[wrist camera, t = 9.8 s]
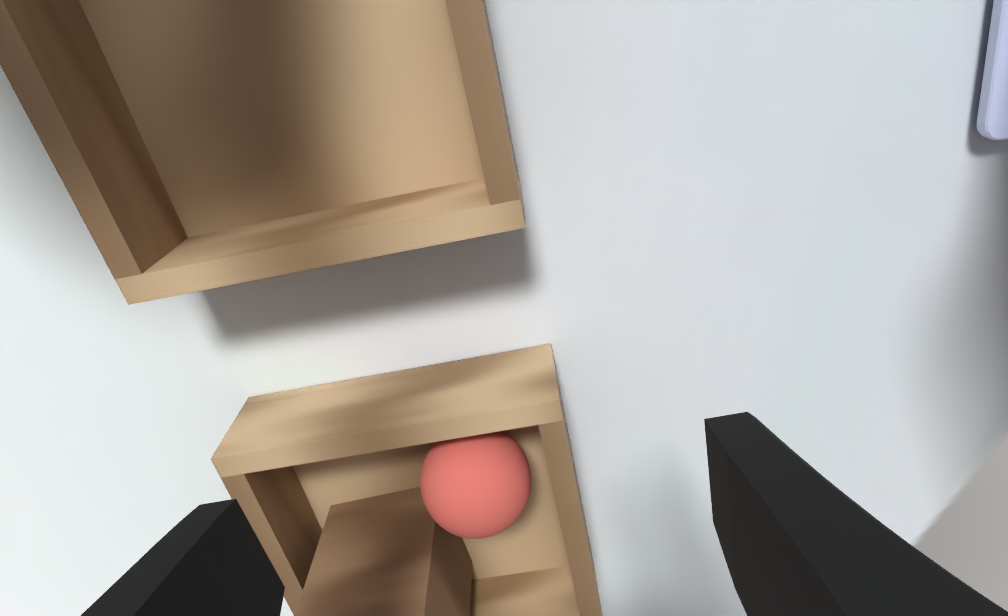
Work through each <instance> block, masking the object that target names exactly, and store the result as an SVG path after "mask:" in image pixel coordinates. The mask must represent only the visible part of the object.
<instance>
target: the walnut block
mask: <svg viewBox="0 0 1008 616" xmlns="http://www.w3.org/2000/svg"><path fill="white" fill-rule="evenodd" d="M471 578H472V560H471V558H470V555H469V553H468V550H467V548H466V545H465V543H464V540H463V538H462V537H459V536H456V535H454V534H452V533H450V532H448V531H446V530H445V529H443V528H442V527H441V526H440V525H438V524H437V523H436V521H435V520H434V519H433V518H432V517H431V515H430V514H429V512H428V510H427V509H426V507H425V504H424V502H423V498H422V495H421V488H420V487H416V488H411V489H406V490H401V491H397V492H392V493H387V494H383V495H378V496H373V497H368V498H364V499H359V500H354V501H349V502H345V503H340V504H335V505H331V506H330V509H329V512H328V515H327V518H326V521H325V524H324V527H323V530H322V533H321V536H320V539H319V543H318V546H317V549H316V552H315V555H314V558H313V561H312V564H311V567H310V570H309V573H308V576H307V579H306V582H305V586H304V589H303V592H302V595H301V598H300V601H299V604H298V607H297V610H296V613H295V616H470V600H471Z"/></svg>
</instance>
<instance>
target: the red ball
mask: <svg viewBox="0 0 1008 616" xmlns="http://www.w3.org/2000/svg"><path fill="white" fill-rule="evenodd" d="M420 488H421V495H422V498H423V502H424V504H425V507H426V509H427V510H428V512H429V514H430V515H431V517H432V518H433V519H434V520H435V521H436V523H437V524H438V525H440V526H441V527H442V528H443V529H445V530H446V531H448V532H450V533H452V534H454V535H456V536H459V537H462V538H468V539H482V538H488V537H491V536H494V535H496V534H499V533H501V532H502V531H504V530H506V529H507V528H508V527H510V526H511V525H512V524H513V523H514V522H515V521H516V520H517V519H518V518H519V516H520V515H521V513H522V512H523V510H524V508H525V506H526V504H527V502H528V499H529V495H530V490H531V472H530V466H529V463H528V460H527V457H526V455H525V453H524V451H523V450H522V448H521V447H520V445H519V444H518V443H517V442H516V441H515V440H514V439H513V438H512V437H511V436H510V435H509V434H507V433H506V432H504V431H498V432H492V433H486V434H480V435H474V436H468V437H462V438H456V439H450V440H444V441H438V442H435V443H434V444H433V446H432V447H431V449H430V450H429V452H428V453H427V455H426V458H425V460H424V462H423V466H422V470H421V477H420Z"/></svg>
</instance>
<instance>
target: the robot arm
mask: <svg viewBox="0 0 1008 616" xmlns="http://www.w3.org/2000/svg"><path fill="white" fill-rule="evenodd" d="M977 130H978V132H979V133H980V135H982V136H984V137H986V138H989V139H992V140H1005V139H1008V0H994V3H993V10H992V17H991V24H990V31H989V38H988V45H987V53H986V60H985V67H984V74H983V81H982V88H981V95H980V103H979V110H978V117H977ZM704 420H705V432H706V444H707V455H708V467H709V479H710V490H711V502H712V514H713V522H714V526H715V529H716V532H717V535H718V538H719V541H720V544H721V547H722V550H723V553H724V556H725V559H726V562H727V565H728V568H729V571H730V574H731V577H732V580H733V583H734V586H735V589H736V591H737V594H738V596H739V598H740V600H741V603H742V605H743V607H744V609H745V612H746V614H747V616H1008V612H1007V611H1006V610H1004V609H1003V608H1001V607H999V606H998V605H996V604H995V603H993V602H992V601H990V600H989V599H987V598H986V597H984V596H983V595H981V594H980V593H978V592H977V591H975V590H974V589H973V588H971V587H970V586H968V585H967V584H965V583H964V582H962V581H961V580H959V579H958V578H957V577H955V576H954V575H952V574H951V573H949V572H948V571H946V570H945V569H943V568H942V567H941V566H940V565H938V564H937V563H935V562H934V561H933V560H931V559H930V558H928V557H927V556H925V555H924V554H923V553H921V552H920V551H919V550H917V549H916V548H914V547H913V546H912V545H910V544H909V543H907V542H906V541H905V540H904V539H902V538H901V537H900V536H898V535H897V534H896V533H894V532H893V531H892V530H890V529H889V528H888V527H886V526H885V525H884V524H882V523H881V522H880V521H878V520H877V519H876V518H875V517H873V516H872V515H871V514H869V513H868V512H867V511H866V510H864V509H863V508H862V507H861V506H859V505H858V504H857V503H856V502H854V501H853V500H852V499H850V498H849V497H848V496H847V495H845V494H844V493H843V492H842V491H840V490H839V489H838V488H837V487H835V486H834V485H833V484H832V483H831V482H829V481H828V480H827V479H826V478H824V477H823V476H822V475H821V474H820V473H818V472H817V471H816V470H815V469H814V468H813V467H811V466H810V465H809V464H808V463H807V462H805V461H804V460H803V459H802V458H801V457H800V456H798V455H797V454H796V453H795V452H794V451H793V450H792V449H790V448H789V447H788V446H787V445H786V444H785V443H784V442H782V441H781V440H780V439H779V438H778V437H777V436H776V435H775V434H773V433H772V432H771V431H770V430H769V429H768V428H767V427H766V426H765V425H763V424H762V423H761V422H760V421H759V420H758V419H757V418H756V417H754V416H753V415H751V414H750V413H748V412H744V413H738V414H732V415H726V416H720V417H714V418H708V419H704ZM284 590H285V586H284V585H283V583H282V581H281V579H280V577H279V576H278V574H277V572H276V570H275V568H274V566H273V565H272V563H271V561H270V559H269V557H268V556H267V554H266V552H265V550H264V548H263V546H262V545H261V543H260V541H259V539H258V537H257V536H256V534H255V532H254V530H253V528H252V527H251V525H250V523H249V521H248V519H247V517H246V516H245V514H244V512H243V510H242V508H241V507H240V505H239V503H238V501H237V499H231V500H226V501H220V502H214V503H208V504H202V505H199V506H198V507H197V508H196V509H194V510H193V511H192V512H191V513H190V514H188V515H187V516H186V517H185V518H184V519H183V520H181V521H180V522H179V523H178V524H177V525H176V526H175V527H174V528H173V529H172V530H170V531H169V532H168V533H167V534H166V535H165V536H164V537H163V538H162V539H161V540H160V541H159V542H158V543H156V544H155V545H154V546H153V547H152V548H151V549H150V550H149V551H148V552H147V553H146V554H145V555H144V556H143V557H142V558H141V559H140V560H139V561H138V562H136V563H135V564H134V565H133V566H132V567H131V568H130V569H129V570H128V571H127V572H126V573H125V574H124V575H123V576H122V577H121V578H120V579H119V580H118V581H117V582H116V583H114V584H113V585H112V586H111V587H110V588H109V589H108V590H107V591H106V592H105V593H104V594H103V595H102V596H101V597H100V598H99V599H98V600H97V601H96V602H95V603H93V604H92V605H91V606H90V607H89V608H88V609H87V610H86V611H85V612H84V613H83V614H82V615H81V616H280V612H281V606H282V601H283V596H284Z"/></svg>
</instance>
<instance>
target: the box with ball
mask: <svg viewBox="0 0 1008 616" xmlns="http://www.w3.org/2000/svg"><path fill="white" fill-rule="evenodd" d="M498 431H504V432H506V433H507V434H509V435H510V436H511V437H512V438H513V439H514V440H515V441H516V442H517V443H518V444H519V445H520V447H521V448H522V450H523V451H524V453H525V455H526V457H527V460H528V463H529V466H530V472H531V490H530V495H529V499H528V502H527V504H526V506H525V508H524V510H523V512H522V513H521V515H520V516H519V518H518V519H517V520H516V521H515V522H514V523H513V524H512V525H511V526H510V527H508V528H507V529H506V530H504V531H502V532H501V533H499V534H496V535H494V536H491V537H488V538H482V539H468V538H463V540H464V543H465V545H466V548H467V550H468V553H469V555H470V558H471V560H472V578H471V600H470V616H602V612H601V606H600V600H599V594H598V588H597V582H596V576H595V570H594V564H593V558H592V553H591V548H590V543H589V538H588V533H587V527H586V522H585V517H584V512H583V507H582V502H581V496H580V491H579V486H578V481H577V476H576V471H575V465H574V460H573V455H572V450H571V445H570V440H569V434H568V429H567V424H566V419H565V414H564V409H563V403H562V398H561V393H560V388H559V383H558V378H557V372H556V367H555V362H554V357H553V352H552V347H551V344H548V345H542V346H536V347H531V348H525V349H519V350H514V351H508V352H502V353H497V354H491V355H486V356H480V357H474V358H469V359H463V360H457V361H452V362H446V363H440V364H435V365H429V366H423V367H418V368H412V369H407V370H401V371H395V372H390V373H384V374H378V375H373V376H367V377H361V378H356V379H350V380H344V381H339V382H333V383H327V384H322V385H316V386H311V387H305V388H299V389H294V390H288V391H282V392H277V393H271V394H265V395H260V396H254V397H249V398H248V399H247V401H246V402H245V404H244V406H243V407H242V409H241V411H240V412H239V414H238V415H237V417H236V419H235V420H234V422H233V424H232V425H231V427H230V429H229V430H228V432H227V433H226V435H225V437H224V438H223V440H222V442H221V443H220V445H219V446H218V448H217V450H216V451H215V453H214V455H213V456H212V458H211V461H212V462H213V464H214V466H215V468H216V470H217V472H218V474H219V476H220V477H221V479H222V481H223V483H224V485H225V487H226V489H227V491H228V492H229V494H230V496H231V498H232V499H237V501H238V503H239V505H240V507H241V508H242V510H243V512H244V514H245V516H246V517H247V519H248V521H249V523H250V525H251V527H252V528H253V530H254V532H255V534H256V536H257V537H258V539H259V541H260V543H261V545H262V546H263V548H264V550H265V552H266V554H267V556H268V557H269V559H270V561H271V563H272V565H273V566H274V568H275V570H276V572H277V574H278V576H279V577H280V579H281V581H282V583H283V585H284V586H285V590H284V598H285V599H286V601H287V603H288V605H289V607H290V609H291V611H292V613H293V614H294V616H295V613H296V610H297V607H298V604H299V601H300V598H301V595H302V592H303V589H304V586H305V582H306V579H307V576H308V573H309V570H310V567H311V564H312V561H313V558H314V555H315V552H316V549H317V546H318V543H319V539H320V536H321V533H322V530H323V527H324V524H325V521H326V518H327V515H328V512H329V509H330V506H331V505H335V504H340V503H345V502H349V501H354V500H359V499H364V498H368V497H373V496H378V495H383V494H387V493H392V492H397V491H401V490H406V489H411V488H416V487H420V477H421V470H422V466H423V462H424V460H425V458H426V455H427V453H428V452H429V450H430V449H431V447H432V446H433V444H434V443H435V442H438V441H444V440H450V439H456V438H462V437H468V436H474V435H480V434H486V433H492V432H498Z"/></svg>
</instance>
